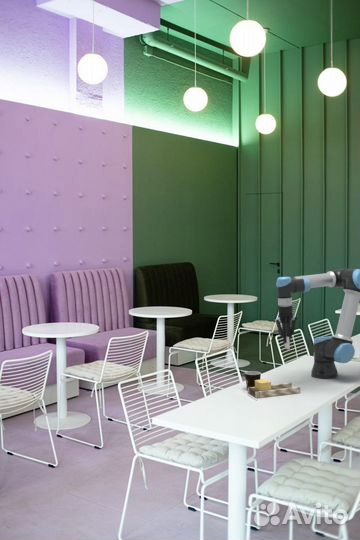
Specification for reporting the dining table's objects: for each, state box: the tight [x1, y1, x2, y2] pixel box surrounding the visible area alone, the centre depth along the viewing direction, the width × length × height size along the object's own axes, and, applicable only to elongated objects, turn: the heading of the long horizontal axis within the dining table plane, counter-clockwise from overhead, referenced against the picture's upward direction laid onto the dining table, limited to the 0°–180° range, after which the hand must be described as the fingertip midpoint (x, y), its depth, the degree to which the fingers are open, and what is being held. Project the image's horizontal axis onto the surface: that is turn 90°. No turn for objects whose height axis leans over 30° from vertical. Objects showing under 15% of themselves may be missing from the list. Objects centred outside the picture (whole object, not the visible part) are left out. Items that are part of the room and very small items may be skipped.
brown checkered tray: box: [247, 382, 301, 401], centre depth 324 cm, size 25×12×4 cm, turn 108°
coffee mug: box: [244, 370, 262, 391], centre depth 335 cm, size 12×9×10 cm
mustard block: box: [255, 378, 272, 391], centre depth 322 cm, size 6×7×7 cm
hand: (287, 348), depth 336 cm, fingers closed
